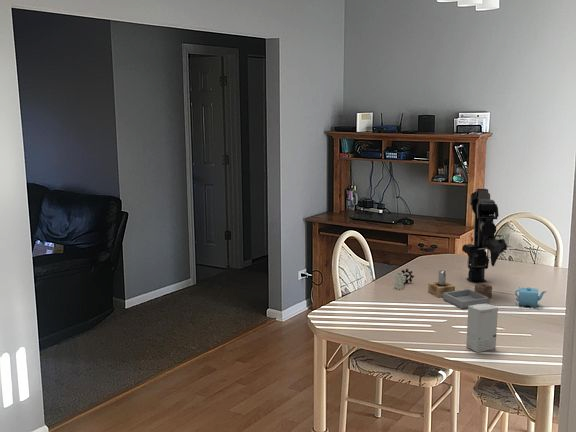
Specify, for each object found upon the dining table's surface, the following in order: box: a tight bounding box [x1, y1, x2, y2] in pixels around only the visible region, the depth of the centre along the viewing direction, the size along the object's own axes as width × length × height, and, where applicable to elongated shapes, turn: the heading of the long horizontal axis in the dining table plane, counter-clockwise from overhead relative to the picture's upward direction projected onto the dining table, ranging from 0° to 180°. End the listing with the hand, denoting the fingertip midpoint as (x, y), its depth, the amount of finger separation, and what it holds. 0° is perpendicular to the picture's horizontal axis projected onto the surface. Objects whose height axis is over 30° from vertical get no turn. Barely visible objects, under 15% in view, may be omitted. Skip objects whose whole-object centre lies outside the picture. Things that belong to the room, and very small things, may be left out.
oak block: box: [427, 281, 456, 298], centre depth 274 cm, size 8×8×4 cm
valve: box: [394, 268, 415, 290], centre depth 286 cm, size 7×7×12 cm
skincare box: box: [465, 303, 499, 353], centre depth 215 cm, size 8×6×15 cm
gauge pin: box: [437, 269, 447, 287], centre depth 274 cm, size 3×3×10 cm
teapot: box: [514, 286, 548, 309], centre depth 258 cm, size 12×6×8 cm, turn 70°
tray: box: [442, 288, 490, 310], centre depth 263 cm, size 13×13×3 cm
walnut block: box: [474, 282, 493, 299], centre depth 270 cm, size 5×5×5 cm
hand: (483, 267), depth 268 cm, fingers open, 9 cm apart
